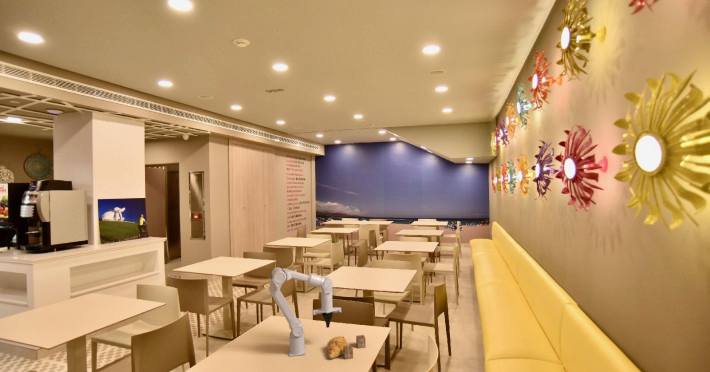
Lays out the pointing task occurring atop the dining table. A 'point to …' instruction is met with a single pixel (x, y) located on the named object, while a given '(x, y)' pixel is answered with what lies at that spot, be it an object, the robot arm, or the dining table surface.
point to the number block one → (348, 352)
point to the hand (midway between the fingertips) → (327, 326)
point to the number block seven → (360, 341)
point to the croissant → (336, 346)
